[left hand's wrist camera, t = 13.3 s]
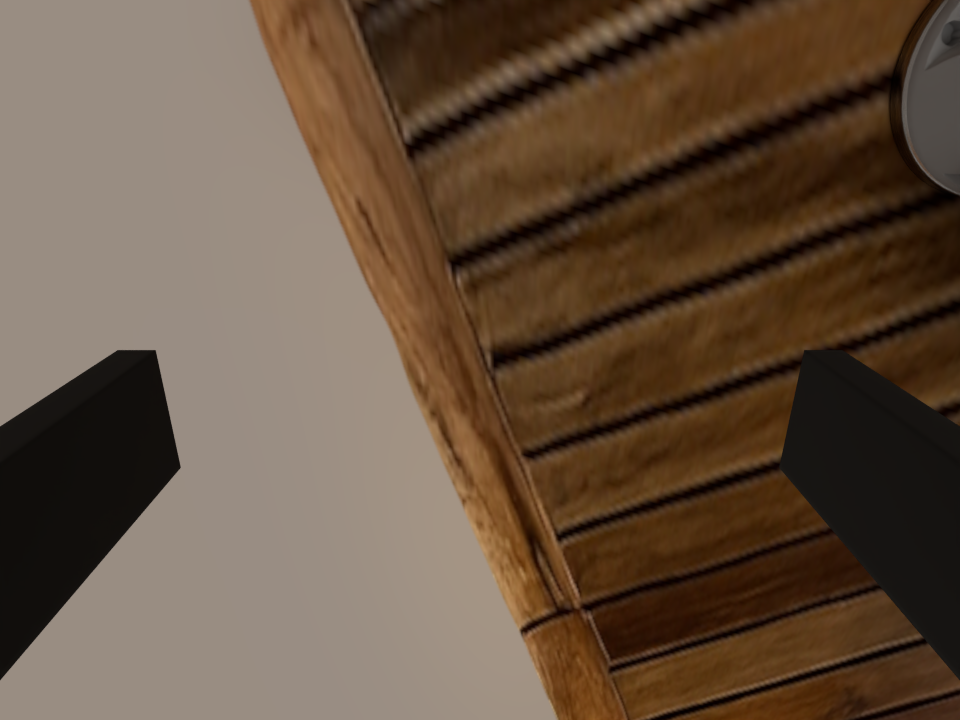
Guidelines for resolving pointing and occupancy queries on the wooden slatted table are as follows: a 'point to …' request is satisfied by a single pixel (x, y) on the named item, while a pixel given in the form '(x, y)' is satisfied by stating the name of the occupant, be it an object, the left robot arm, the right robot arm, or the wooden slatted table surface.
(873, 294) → the wooden slatted table surface
